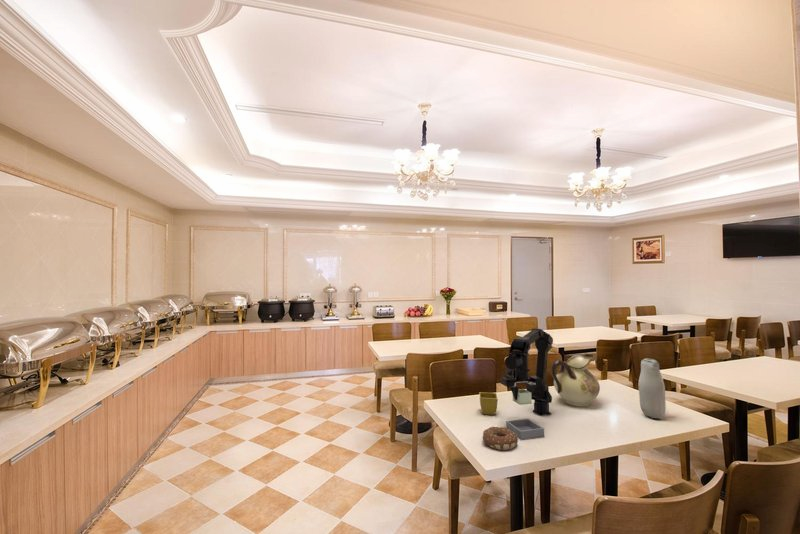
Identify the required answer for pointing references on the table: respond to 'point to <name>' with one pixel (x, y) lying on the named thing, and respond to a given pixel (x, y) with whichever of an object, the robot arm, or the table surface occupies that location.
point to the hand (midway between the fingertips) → (521, 399)
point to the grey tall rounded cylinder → (651, 389)
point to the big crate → (525, 429)
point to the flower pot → (488, 402)
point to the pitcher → (575, 381)
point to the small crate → (523, 397)
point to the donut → (500, 438)
